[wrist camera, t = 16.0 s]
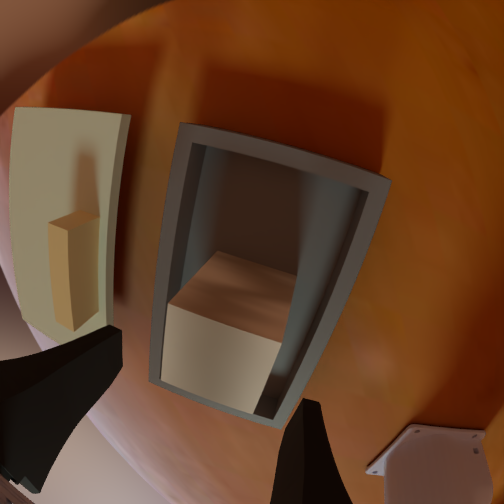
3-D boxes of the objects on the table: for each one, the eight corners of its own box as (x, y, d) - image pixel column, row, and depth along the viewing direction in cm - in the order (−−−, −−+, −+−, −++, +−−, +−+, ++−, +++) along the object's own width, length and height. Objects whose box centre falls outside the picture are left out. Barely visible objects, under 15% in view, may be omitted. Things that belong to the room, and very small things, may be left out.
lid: (131, 115, 13) (87, 113, 10) (115, 366, 20) (90, 395, 16) (24, 106, 14) (-15, 109, 11) (28, 314, 21) (3, 333, 18)
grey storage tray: (381, 174, 14) (392, 180, 12) (286, 403, 20) (281, 429, 18) (200, 124, 15) (180, 122, 13) (163, 360, 22) (148, 381, 19)
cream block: (297, 276, 16) (281, 343, 11) (274, 340, 18) (252, 414, 13) (217, 250, 17) (168, 303, 11) (204, 316, 19) (160, 380, 13)
